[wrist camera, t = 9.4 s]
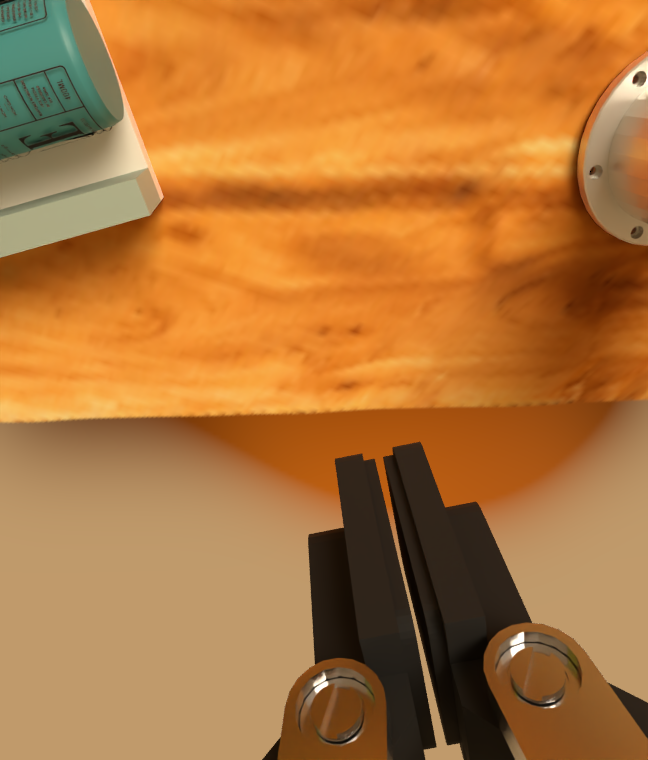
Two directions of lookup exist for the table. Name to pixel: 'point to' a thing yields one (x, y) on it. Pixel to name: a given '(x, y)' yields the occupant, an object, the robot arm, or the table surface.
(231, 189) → the table surface
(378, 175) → the table surface
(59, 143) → the cradle
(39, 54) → the beverage bottle
